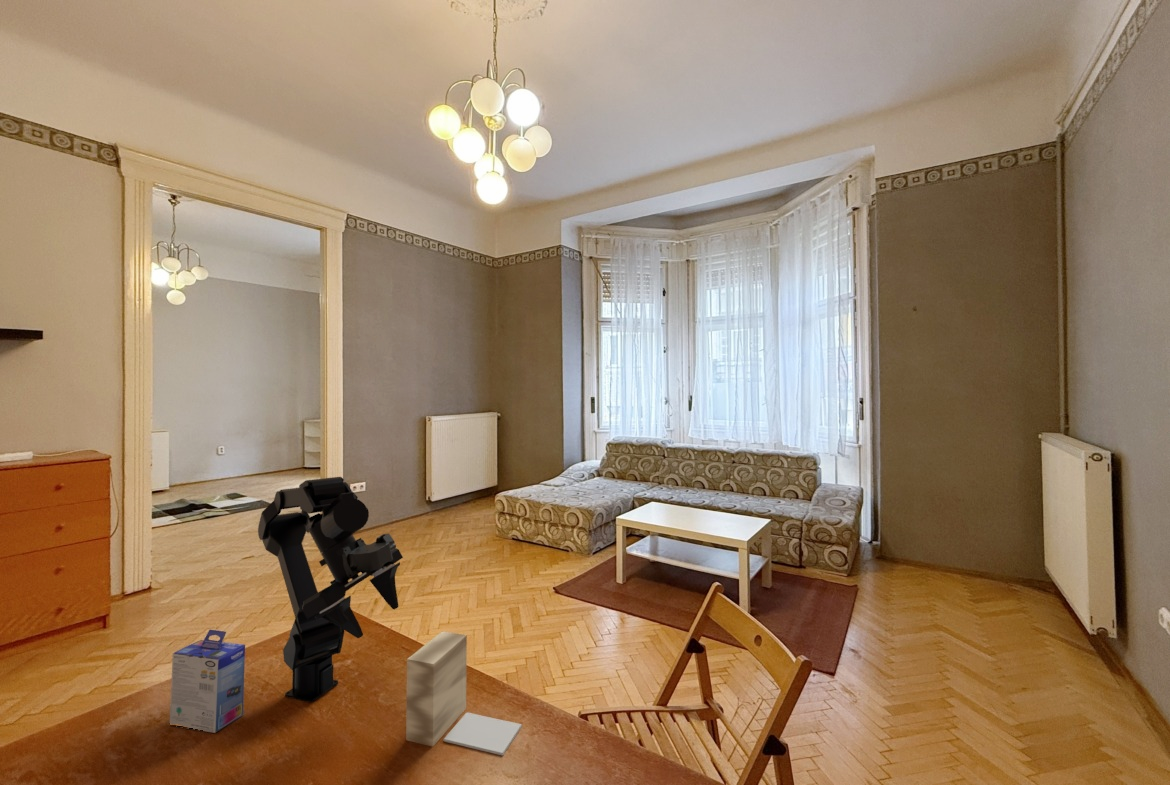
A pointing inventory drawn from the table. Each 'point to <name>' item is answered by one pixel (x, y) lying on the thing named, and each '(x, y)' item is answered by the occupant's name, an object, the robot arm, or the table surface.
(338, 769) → the table surface
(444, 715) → the birch block
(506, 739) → the white ceramic tile
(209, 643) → the ink cartridge box
